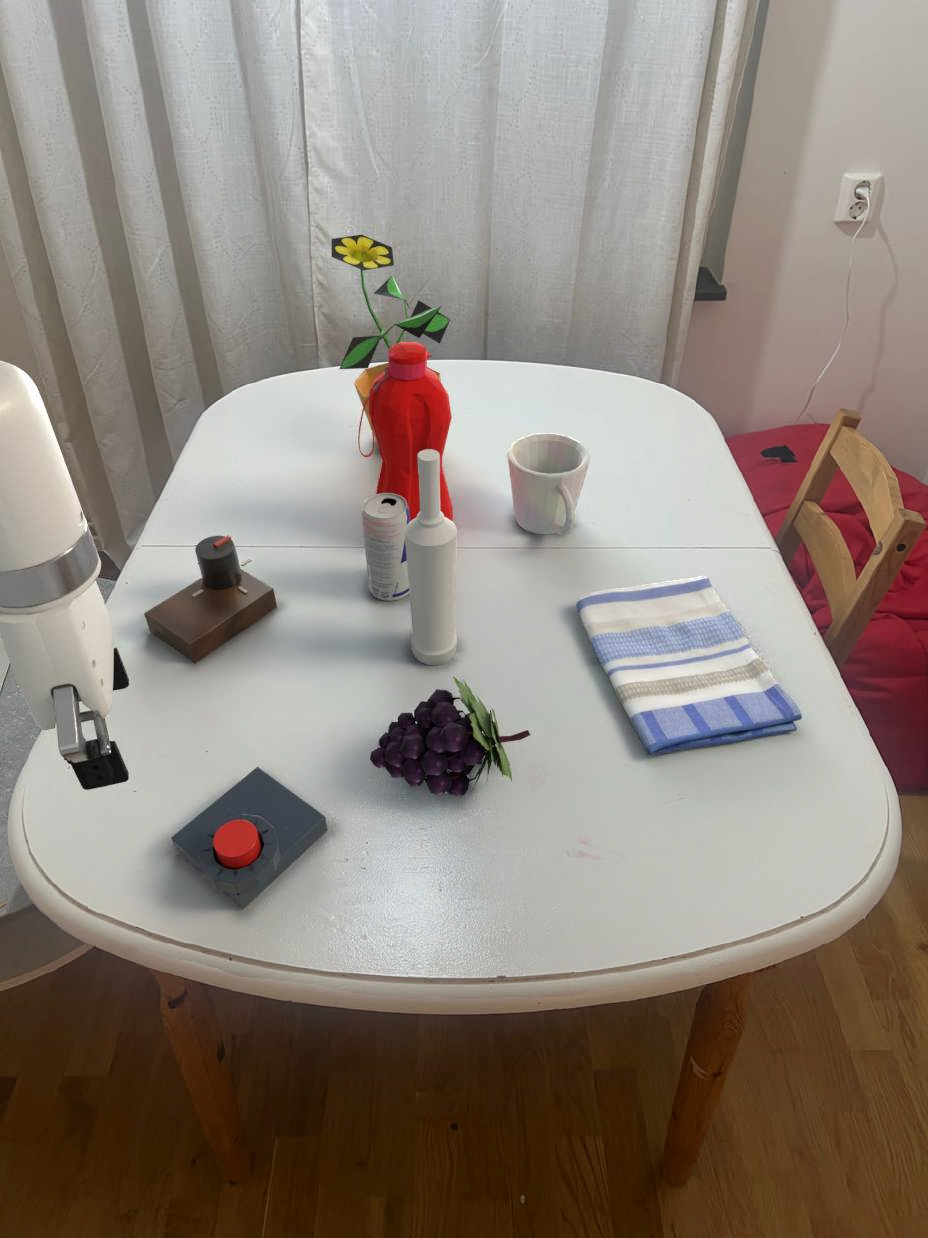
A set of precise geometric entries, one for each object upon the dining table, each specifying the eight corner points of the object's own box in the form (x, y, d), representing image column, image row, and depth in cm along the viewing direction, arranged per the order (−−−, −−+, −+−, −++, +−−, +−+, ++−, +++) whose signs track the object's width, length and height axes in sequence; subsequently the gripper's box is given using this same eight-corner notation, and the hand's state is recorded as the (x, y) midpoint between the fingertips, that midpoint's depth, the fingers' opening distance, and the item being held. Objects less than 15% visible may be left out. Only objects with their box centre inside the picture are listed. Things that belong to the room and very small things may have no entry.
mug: (567, 491, 118) (574, 427, 111) (606, 556, 107) (616, 489, 101) (495, 501, 116) (497, 437, 110) (527, 568, 106) (532, 501, 99)
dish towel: (706, 586, 103) (711, 568, 101) (804, 733, 86) (812, 715, 84) (570, 606, 100) (572, 588, 99) (643, 762, 83) (647, 743, 81)
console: (195, 664, 93) (189, 643, 91) (137, 624, 98) (130, 603, 96) (288, 599, 101) (285, 579, 99) (231, 565, 106) (227, 545, 104)
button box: (242, 922, 71) (233, 896, 68) (168, 857, 75) (158, 831, 73) (333, 835, 77) (329, 809, 74) (261, 780, 82) (254, 753, 79)
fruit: (389, 765, 87) (531, 728, 86) (390, 844, 78) (548, 804, 77) (356, 689, 81) (507, 648, 80) (352, 764, 72) (522, 720, 71)
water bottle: (360, 517, 113) (343, 336, 97) (439, 504, 116) (436, 325, 99) (374, 558, 107) (358, 372, 90) (458, 544, 109) (458, 360, 92)
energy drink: (419, 578, 104) (416, 496, 96) (404, 606, 100) (399, 523, 92) (378, 570, 105) (371, 488, 97) (361, 597, 101) (353, 514, 93)
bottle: (405, 662, 93) (393, 466, 77) (418, 631, 97) (409, 437, 80) (451, 670, 92) (448, 473, 76) (462, 638, 96) (462, 444, 79)
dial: (219, 594, 97) (211, 561, 94) (195, 579, 99) (186, 546, 96) (249, 575, 100) (242, 542, 96) (224, 561, 102) (217, 528, 98)
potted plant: (367, 489, 118) (348, 270, 98) (327, 426, 131) (303, 221, 111) (483, 462, 124) (488, 249, 104) (434, 404, 137) (430, 204, 116)
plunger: (236, 876, 70) (232, 865, 69) (208, 852, 72) (204, 841, 70) (269, 846, 72) (266, 835, 71) (241, 824, 74) (237, 812, 72)
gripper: (-14, 493, 60) (63, 666, 71) (-53, 663, 47) (48, 838, 59) (98, 477, 61) (156, 648, 73) (90, 637, 49) (161, 812, 60)
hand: (108, 733), depth 66 cm, fingers open, 9 cm apart
